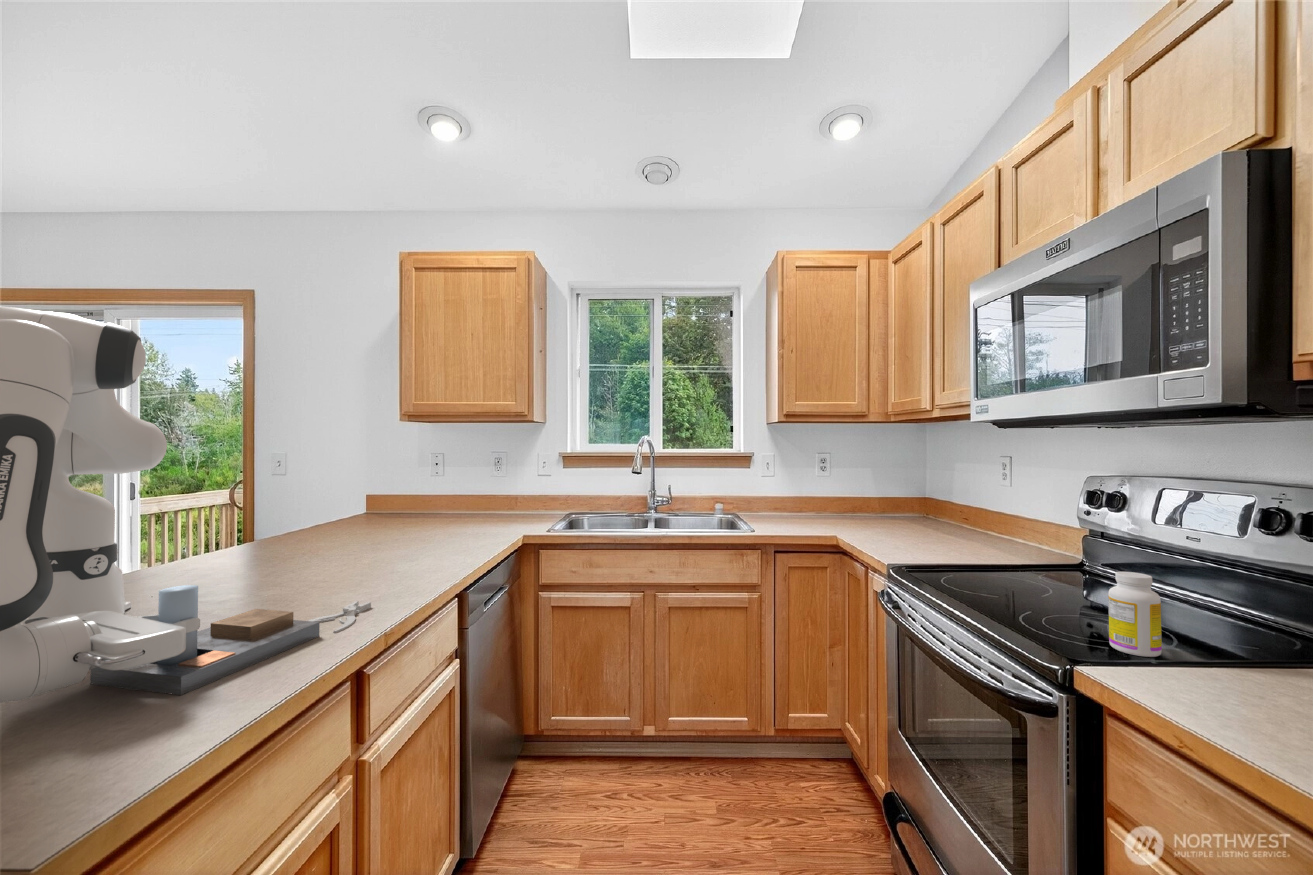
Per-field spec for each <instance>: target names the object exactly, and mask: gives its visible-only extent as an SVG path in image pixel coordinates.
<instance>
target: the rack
mask: <svg viewBox="0 0 1313 875" xmlns="http://www.w3.org/2000/svg"><path fill="white" fill-rule="evenodd" d="M320 623H321V622H313V621H308V620H302V619H301V620H300V619H299V620H298V619H294V611H289V610H288V611H287V610H286V611H285V610H276V609H262V608H261V609H260V608H253V609H251V610H248V611H245V612H241V613H238V614H235V615H233V616H232V615H231V616H229V617H227V618H222V619H219V620H217V621H214V622H211V623H210V627H207V628H204V629H201V630H198V631H197V657H195V658H192V659H190V660H187V661H184V662H181V663H179V664H176V665H173V666H166V665H157V662H153V663H149V664H145V665H141V666H137V667H133V668H128V669H123V670H107V669H103V668H100V667H96V668H93V669H90V673H89V674H90V676H89V679H90V681H89V684H90V685H93V686H94V685H95V686H101V687H108V688H109V687H111V688H118V689H120V688H121V689H126V690H134V691H142V690H145V691H144V692H150V691H153V692H152V693H158V692H159V694H166V693H172V694H171V695H174V694H176V696H183V695H185V694H187V693H189V692H192V691H194V690H197V689H199V688H201V686H202V687H204V686H206V685H208V683H209V684H210V683H213V682H216V681H217V680H220V679H222V678H224V677H226V676H230V675H231V674H234V673H237V672H238V671H241V670H243V669H247V668H248V667H250V666H253V665H256V664H257V663H260V662H262V661H264V660H267V659H268V658H269V659H270V658H272V657H274V656H277V655H278V654H281V653H283V652H285V651H288V650H290V649H292V648H295V647H297V646H300V645H302V644H305V643H306V642H309V641H311V640H314V639H316V638H319V637H320V625H321V624H320ZM184 693H185V694H184ZM182 694H183V695H182Z"/></svg>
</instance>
